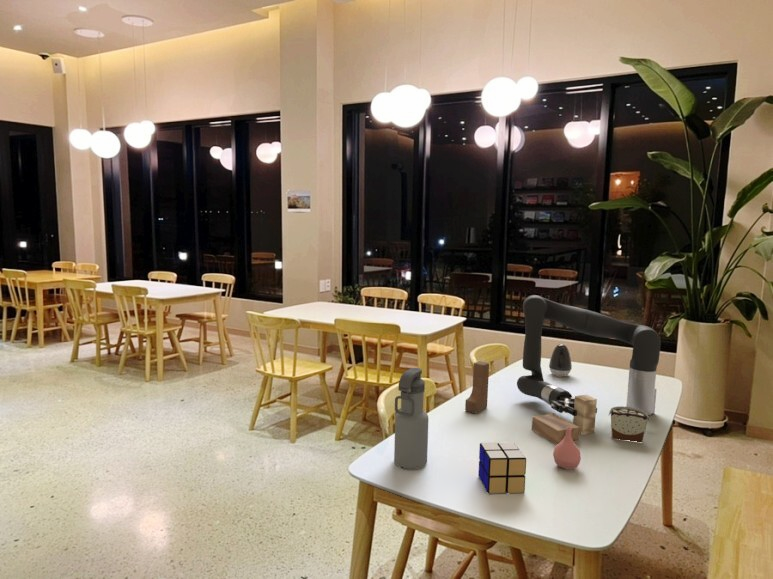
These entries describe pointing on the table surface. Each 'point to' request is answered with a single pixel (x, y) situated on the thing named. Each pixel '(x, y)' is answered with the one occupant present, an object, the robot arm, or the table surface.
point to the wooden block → (478, 388)
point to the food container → (628, 423)
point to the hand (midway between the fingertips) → (586, 412)
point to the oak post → (585, 413)
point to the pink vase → (567, 452)
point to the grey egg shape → (560, 361)
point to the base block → (554, 427)
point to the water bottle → (411, 422)
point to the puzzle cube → (502, 468)
